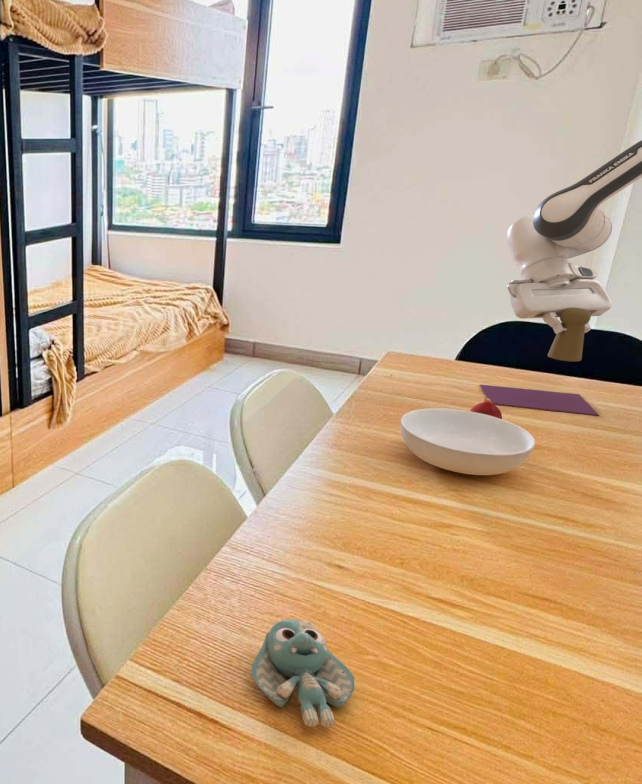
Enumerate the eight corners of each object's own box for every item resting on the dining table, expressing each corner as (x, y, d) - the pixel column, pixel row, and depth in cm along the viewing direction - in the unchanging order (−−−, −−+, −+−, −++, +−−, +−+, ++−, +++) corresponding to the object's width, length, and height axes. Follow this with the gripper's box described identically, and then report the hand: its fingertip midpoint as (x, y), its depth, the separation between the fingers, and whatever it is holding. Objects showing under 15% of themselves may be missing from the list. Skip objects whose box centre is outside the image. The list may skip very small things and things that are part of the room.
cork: (551, 352, 143) (564, 304, 139) (584, 357, 138) (598, 308, 134) (543, 357, 139) (556, 308, 135) (577, 363, 135) (591, 313, 131)
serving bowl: (370, 453, 121) (376, 420, 118) (438, 432, 130) (445, 401, 127) (481, 500, 103) (490, 463, 101) (551, 472, 112) (561, 437, 110)
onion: (496, 432, 129) (505, 396, 126) (498, 443, 124) (507, 405, 121) (463, 427, 132) (471, 391, 129) (464, 437, 127) (472, 400, 124)
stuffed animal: (271, 698, 59) (244, 597, 69) (260, 741, 63) (236, 640, 73) (387, 701, 59) (342, 599, 69) (370, 744, 62) (330, 641, 73)
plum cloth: (578, 395, 148) (579, 394, 148) (598, 415, 136) (599, 414, 136) (479, 385, 156) (479, 384, 156) (490, 404, 144) (490, 402, 144)
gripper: (514, 272, 138) (538, 325, 133) (602, 269, 140) (629, 322, 134) (495, 288, 144) (517, 340, 138) (579, 286, 145) (605, 337, 139)
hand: (573, 331), depth 136 cm, fingers closed on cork, 4 cm apart
